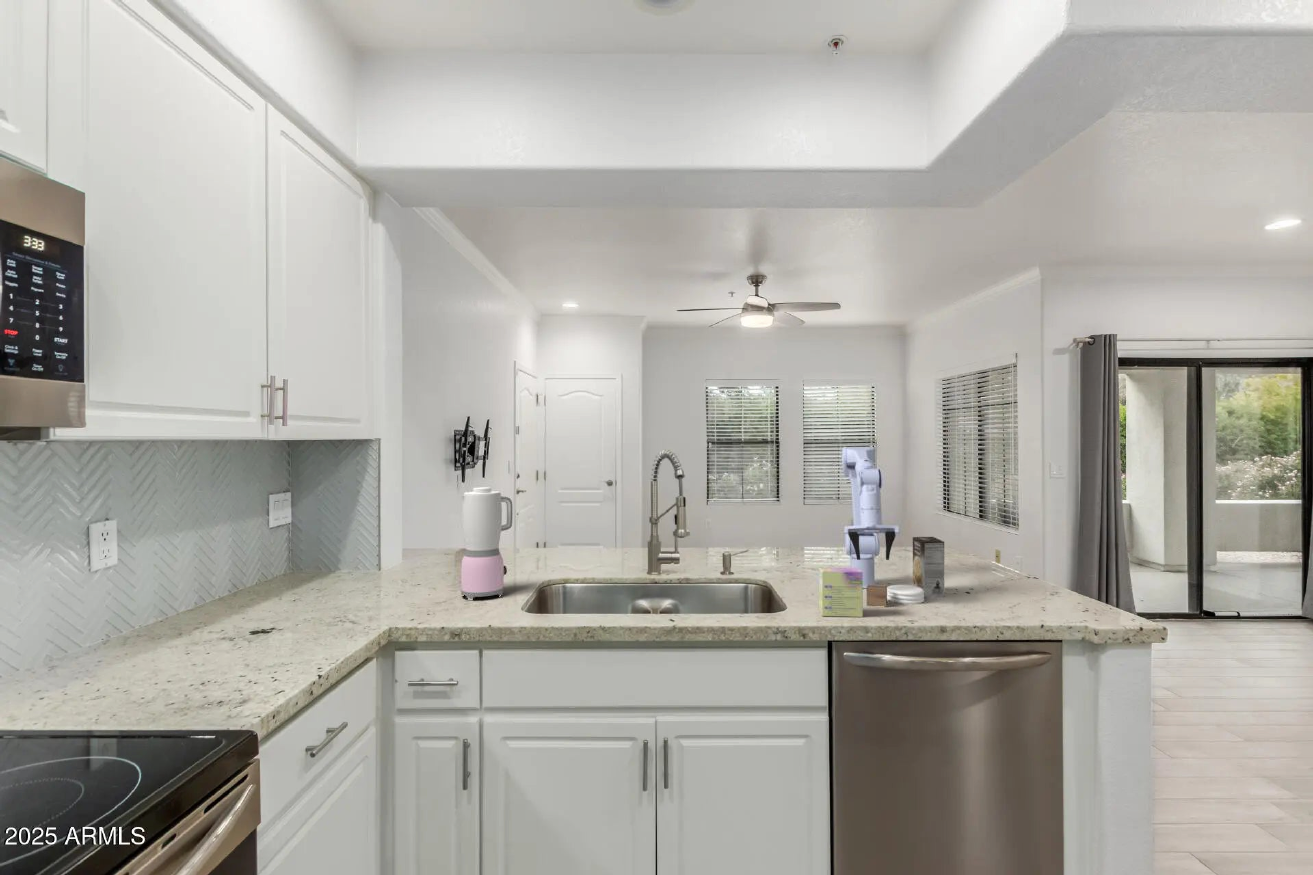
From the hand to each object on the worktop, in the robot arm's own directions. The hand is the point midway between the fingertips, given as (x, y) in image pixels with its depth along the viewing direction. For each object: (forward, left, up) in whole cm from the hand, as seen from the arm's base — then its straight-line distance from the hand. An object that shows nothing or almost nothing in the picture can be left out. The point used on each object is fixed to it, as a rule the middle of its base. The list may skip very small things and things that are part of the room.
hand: (872, 559), depth 182 cm
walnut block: (0, +1, -12) cm, 12 cm away
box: (+14, -7, -13) cm, 20 cm away
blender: (+30, -107, -12) cm, 112 cm away
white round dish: (-8, +8, -13) cm, 17 cm away
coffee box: (-19, +14, -13) cm, 27 cm away
